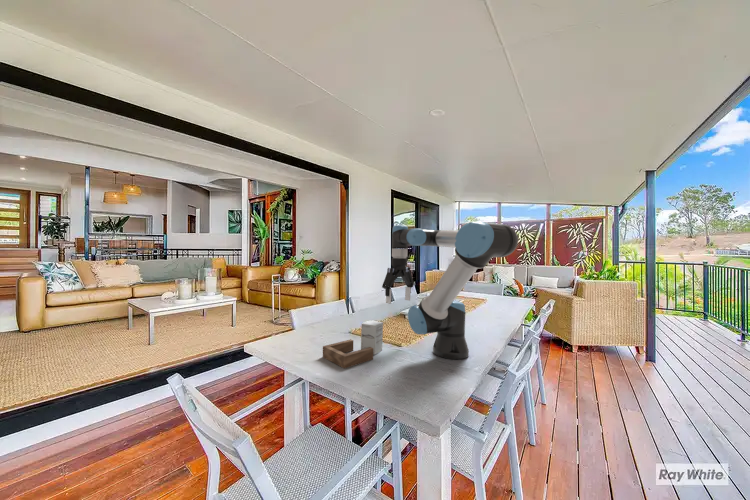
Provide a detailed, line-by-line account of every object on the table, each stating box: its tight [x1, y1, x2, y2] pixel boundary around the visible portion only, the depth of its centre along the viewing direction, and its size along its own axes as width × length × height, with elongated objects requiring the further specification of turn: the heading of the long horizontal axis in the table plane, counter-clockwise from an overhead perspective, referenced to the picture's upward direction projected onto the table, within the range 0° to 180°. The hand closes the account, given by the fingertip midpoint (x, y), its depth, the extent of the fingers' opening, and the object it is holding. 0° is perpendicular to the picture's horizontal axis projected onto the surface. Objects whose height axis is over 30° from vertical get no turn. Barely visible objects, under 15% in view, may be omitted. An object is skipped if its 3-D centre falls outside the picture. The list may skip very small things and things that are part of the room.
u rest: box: [322, 338, 374, 370], centre depth 119 cm, size 15×14×4 cm
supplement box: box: [360, 320, 384, 356], centre depth 128 cm, size 7×7×13 cm
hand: (398, 301), depth 140 cm, fingers open, 13 cm apart
